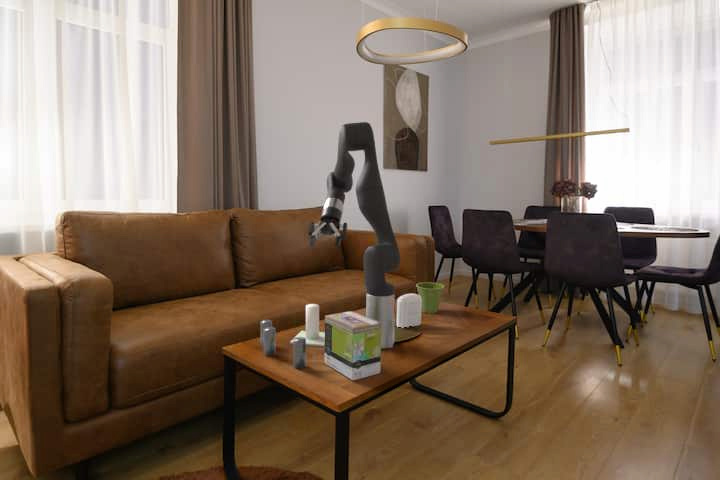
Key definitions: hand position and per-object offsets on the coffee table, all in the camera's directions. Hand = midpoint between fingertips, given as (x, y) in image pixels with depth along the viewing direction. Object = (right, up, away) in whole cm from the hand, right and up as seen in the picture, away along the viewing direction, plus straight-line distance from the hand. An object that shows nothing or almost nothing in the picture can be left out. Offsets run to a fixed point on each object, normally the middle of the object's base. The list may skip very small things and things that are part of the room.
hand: (324, 246), depth 156 cm
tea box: (+10, -35, -31) cm, 47 cm away
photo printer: (+31, -30, +9) cm, 45 cm away
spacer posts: (-7, -33, -22) cm, 41 cm away
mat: (-3, -32, -7) cm, 32 cm away
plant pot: (+42, -28, +29) cm, 59 cm away
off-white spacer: (-3, -31, -7) cm, 32 cm away
